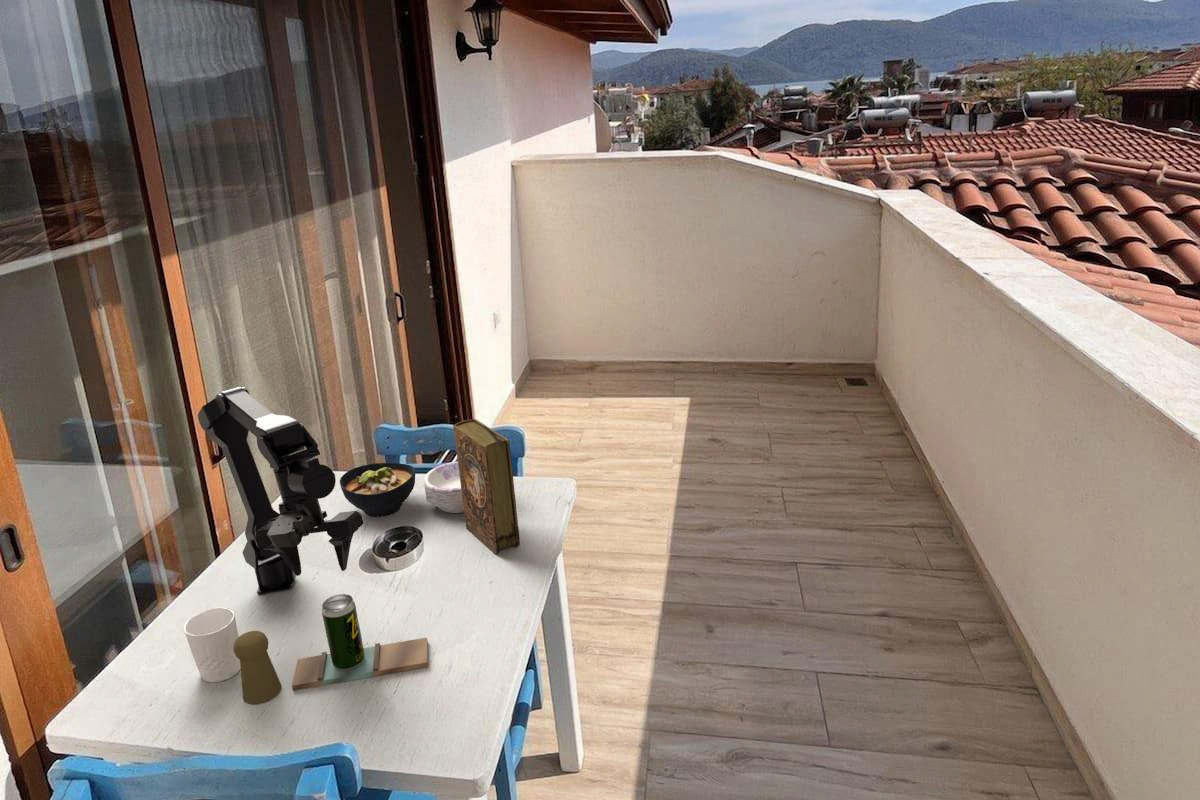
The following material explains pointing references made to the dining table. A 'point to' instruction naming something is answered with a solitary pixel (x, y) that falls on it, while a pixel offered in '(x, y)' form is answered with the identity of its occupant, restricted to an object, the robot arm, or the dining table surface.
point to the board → (374, 664)
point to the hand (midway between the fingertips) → (321, 572)
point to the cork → (256, 668)
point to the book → (487, 485)
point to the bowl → (378, 487)
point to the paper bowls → (444, 488)
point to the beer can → (343, 632)
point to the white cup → (214, 643)
